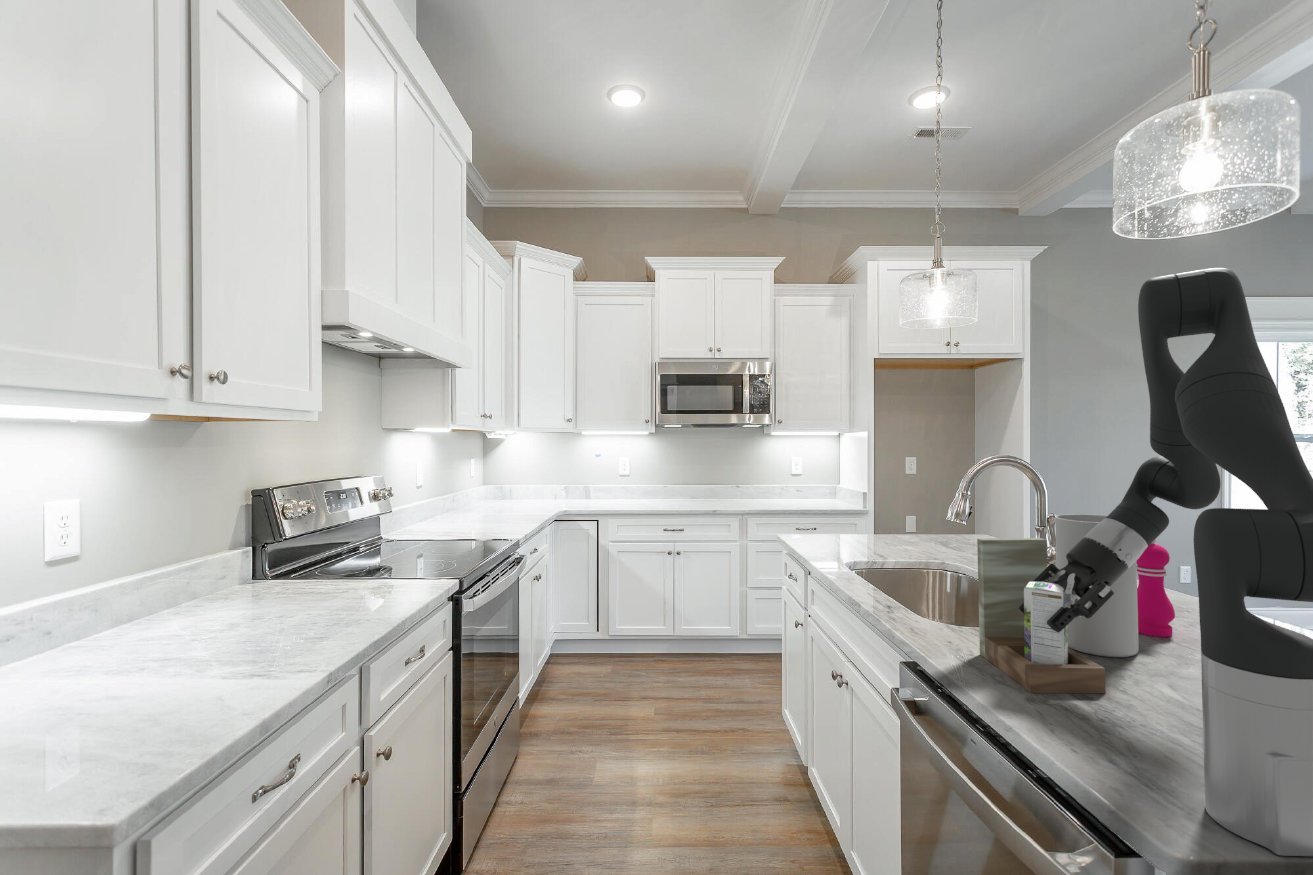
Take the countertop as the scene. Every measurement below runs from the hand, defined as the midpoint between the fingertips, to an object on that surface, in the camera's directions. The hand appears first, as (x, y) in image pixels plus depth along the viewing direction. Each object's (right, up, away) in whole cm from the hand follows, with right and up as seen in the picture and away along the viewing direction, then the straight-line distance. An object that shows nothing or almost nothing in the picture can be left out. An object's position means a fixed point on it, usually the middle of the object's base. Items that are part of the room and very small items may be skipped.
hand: (1037, 620), depth 99 cm
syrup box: (+2, -9, 0) cm, 9 cm away
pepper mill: (+38, -10, +21) cm, 45 cm away
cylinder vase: (+21, -10, +14) cm, 27 cm away
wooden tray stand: (+2, -10, +3) cm, 10 cm away
